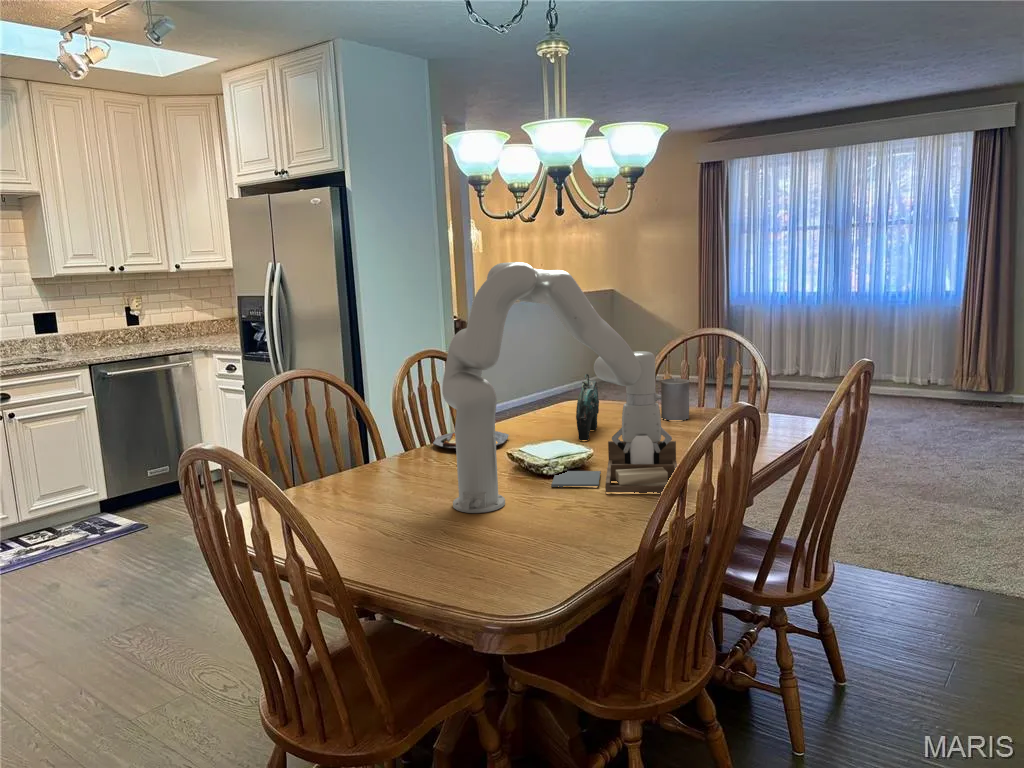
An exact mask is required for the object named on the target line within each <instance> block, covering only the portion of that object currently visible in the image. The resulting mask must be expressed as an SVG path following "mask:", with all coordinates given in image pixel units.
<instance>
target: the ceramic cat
mask: <svg viewBox="0 0 1024 768" xmlns="http://www.w3.org/2000/svg"><path fill="white" fill-rule="evenodd" d="M584 378H585V380H584V381H582V382H581V383H582V384H581V388H580V389H581V390H580V392H579V394H578V396H577V397H578V398H577V402H576V414H575V420H576V428H577V433H578V435H577V436H578V441H579V440H588V439H589V440H590V434H591V433H590V432H591V431H590V430H596V431H597V429H598V414H599V411H600V408H599V407H600V399H599V387H598V383H597V381H596V380H590V375H589V374H588V373H585V374H584ZM596 428H597V429H596Z"/></svg>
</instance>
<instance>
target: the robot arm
mask: <svg viewBox="0 0 1024 768" xmlns="http://www.w3.org/2000/svg"><path fill="white" fill-rule="evenodd" d="M517 301H520V302H521V301H522V302H525V303H533V304H534V303H535V304H542V305H548V306H549V307H550V308H551V310H552V311H553V312H554V314H555V315H556V317H557V318H558V320H559V321H560V322H561V324H562V325H563V326H564V328H565V330H566V331H567V332H568V334H569V335H570V336H571V337H573V339H575V340H576V341H577V342H579V343H580V344H582V345H584V346H585V347H587V348H588V349H590V350H591V351H593V352H594V353H595V354H596V355H597V356H598V357H597V358H596V359H595V361H594V364H593V371H594V373H595V376H596V377H597V378H598V379H599V380H601V381H603V382H606V383H609V384H615V385H618V386H623V387H625V390H626V391H625V396H626V401H625V403H623V406H622V413H621V414H622V415H621V428H620V429H618V430H617V432H615V434H613V436H612V437H611V441H613V442H614V443H615V444H617V445H618V447H619V448H621V449H622V450H623V451H624V453H625V464H630V451H629V448H630V446H631V442H632V440H633V439H634V438H635V437H636V435H648V437H649V438H650V439H651V441H652V442H653V447H654V449H655V450H654V464H659V453H660V451H661V450H662V449H663V448H664V447H665V446H666V445H667V444H668V443H669V442H670V441H673V440H672V439H673V438H672V436H671V435H670V434H669V432H667V431H666V430H665V429H664V428H663V427H662V423H661V422H662V421H661V420H662V419H661V408H660V404H659V403H658V401H661V394H658V393H657V391H656V356H655V354H654V353H652V352H651V351H646V350H645V351H642V350H641V351H640V350H639V351H634V350H632V348H631V347H630V345H629V344H628V343H627V341H626V340H625V339H624V338H623V337H622V336H621V335H620V333H618V332H617V331H616V330H615V329H614V328H613V327H612V326H610V324H609V323H608V322H607V321H606V320H604V319H603V318H602V317H601V316H600V314H599V313H598V312H597V310H596V309H595V308H594V307H593V305H592V303H591V302H590V300H589V299H588V298H587V296H586V294H585V292H584V291H583V290H582V289H581V287H580V286H579V284H578V283H577V281H576V280H575V278H574V277H573V276H572V275H571V274H570V272H567V271H565V270H562V269H561V270H560V269H551V270H550V269H537V268H534V267H532V266H531V265H530V264H528V263H526V262H521V261H511V262H500V263H497V264H495V265H493V266H492V267H491V268H490V269H489V271H488V273H487V276H486V280H485V281H484V282H483V283H482V284H481V286H480V287H479V289H478V290H477V292H476V294H475V295H474V298H473V301H472V304H471V309H470V313H469V317H468V321H467V326H466V328H462V329H461V330H458V331H457V332H456V333H455V335H454V336H453V338H452V339H451V341H450V343H449V346H448V351H447V356H446V362H445V367H444V374H443V380H442V388H441V389H442V395H443V396H442V397H443V399H444V401H445V403H447V405H449V406H450V407H451V408H453V409H454V410H456V412H455V413H456V415H455V416H456V417H455V425H454V432H455V441H456V448H455V451H456V452H455V454H456V467H457V468H456V471H457V483H458V484H457V488H458V489H457V490H458V497H456V498H455V499H453V501H452V507H453V509H454V510H456V511H459V512H462V513H467V514H481V513H489V512H494V511H496V510H499V509H501V508H503V507H504V506H505V505H506V499H505V498H506V497H504V496H503V495H501V494H499V482H498V481H499V480H498V461H497V459H498V457H497V446H496V440H495V431H496V413H497V412H496V411H497V404H498V403H497V401H498V400H497V393H496V391H495V388H494V386H493V384H491V383H490V381H489V380H487V379H486V378H484V377H482V373H483V371H488V370H489V369H492V368H493V367H494V366H495V365H496V364H497V362H498V361H499V357H500V354H501V349H502V348H501V347H502V342H503V341H502V340H503V334H504V331H505V330H504V329H505V325H506V322H507V317H508V313H509V311H510V309H511V308H512V306H513V305H514V304H515V303H516V302H517ZM662 436H663V438H664V439H663V440H662ZM620 437H621V439H622V440H620V439H619V438H620ZM621 441H624V442H626V443H625V444H623V443H622V442H621ZM659 441H662V442H661V443H660V444H658V442H659Z"/></svg>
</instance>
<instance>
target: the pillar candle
mask: <svg viewBox="0 0 1024 768" xmlns="http://www.w3.org/2000/svg"><path fill="white" fill-rule="evenodd" d="M660 386H661V387H660V388H661V389H660V391H661V393H660V395H661V400H660V403H661V404H660V405H661V406H660V416H661V418H663V419H666V420H686V419H688V420H690V380H689V379H684V378H679V377H678V378H676V377H675V376H674V377H673V378H666V379H662V380H661V381H660ZM686 421H687V420H686Z"/></svg>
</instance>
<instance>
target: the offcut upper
mask: <svg viewBox="0 0 1024 768" xmlns="http://www.w3.org/2000/svg"><path fill="white" fill-rule="evenodd" d="M616 480H617V482H618V483H619V485H629V484H646V483H662V482H668V472H667V471H666V470H665V469H664V468H663V467H654V468H637V469H621V470H616Z"/></svg>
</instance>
